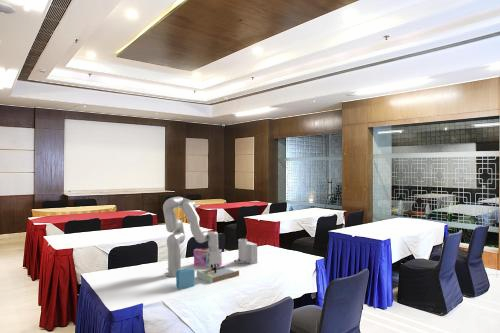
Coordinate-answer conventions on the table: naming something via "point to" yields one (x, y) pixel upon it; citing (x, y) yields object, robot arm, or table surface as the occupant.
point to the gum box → (203, 257)
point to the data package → (185, 278)
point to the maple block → (210, 272)
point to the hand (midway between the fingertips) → (214, 272)
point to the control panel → (247, 252)
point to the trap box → (217, 274)
